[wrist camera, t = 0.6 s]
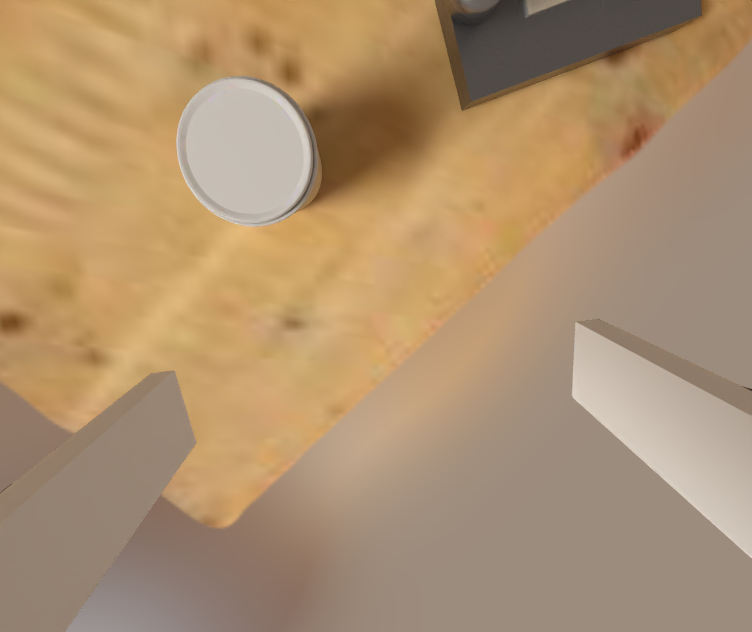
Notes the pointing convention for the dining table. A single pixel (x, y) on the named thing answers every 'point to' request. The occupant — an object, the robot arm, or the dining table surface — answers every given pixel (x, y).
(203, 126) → the coffee cup
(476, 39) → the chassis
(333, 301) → the dining table surface
